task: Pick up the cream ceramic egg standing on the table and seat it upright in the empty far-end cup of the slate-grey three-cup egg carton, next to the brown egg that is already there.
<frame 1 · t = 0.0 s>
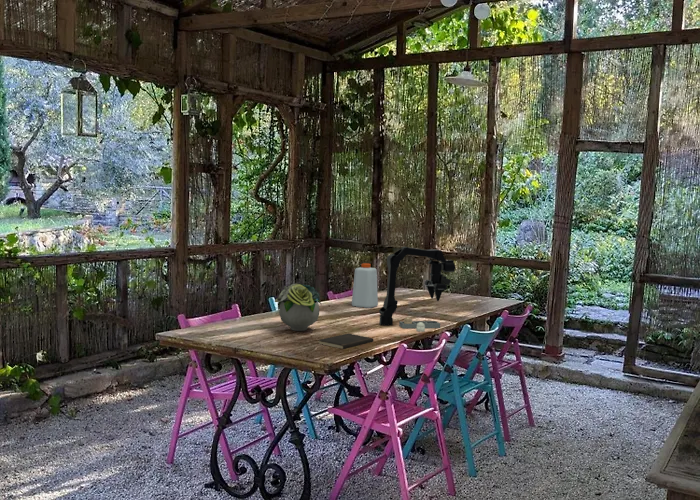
hand: (435, 299, 360), 15 cm above the table, fingers open, 9 cm apart
cream egg: (420, 332, 340), on the table
plastic bottle: (364, 306, 423), on the table
hardcover book: (345, 344, 311), on the table
flower arrangement: (298, 330, 339), on the table
egg carton: (419, 328, 351), on the table
brown egg: (407, 327, 349), point 1 cm above the table, touching egg carton
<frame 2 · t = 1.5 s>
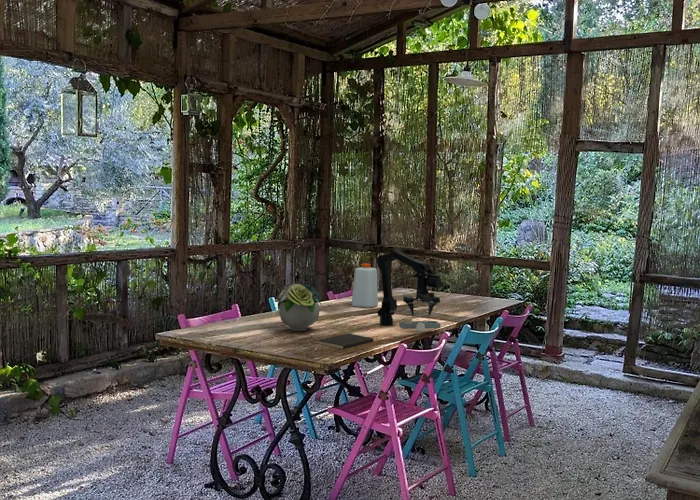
hand: (420, 315, 340), 9 cm above the table, fingers open, 9 cm apart
nothing on the table moved.
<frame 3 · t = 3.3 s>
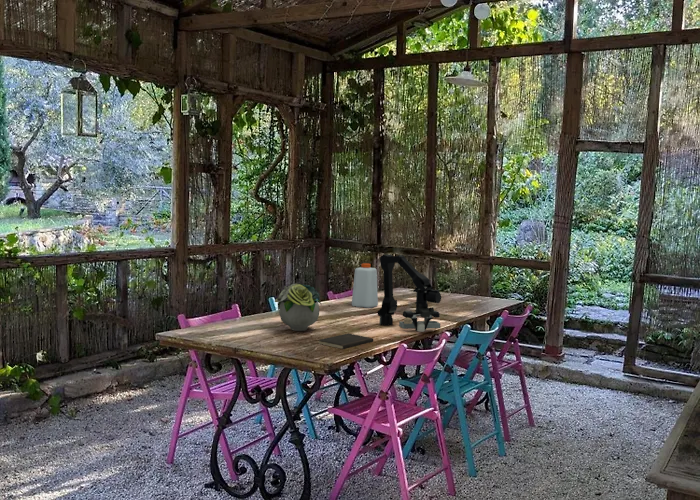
hand: (420, 330, 340), 1 cm above the table, fingers closed on cream egg, 4 cm apart
cream egg: (420, 332, 340), on the table, touching gripper
everything else where it was.
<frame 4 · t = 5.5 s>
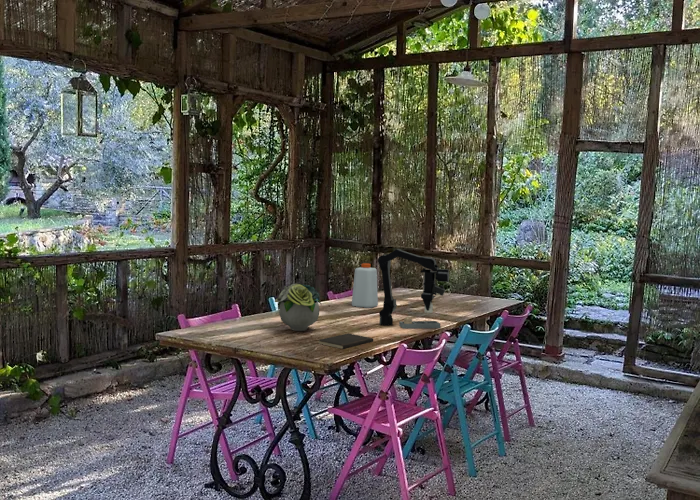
hand: (428, 309, 347), 11 cm above the table, fingers closed on cream egg, 4 cm apart
cream egg: (428, 312, 347), point 10 cm above the table, touching gripper
everything else where it was.
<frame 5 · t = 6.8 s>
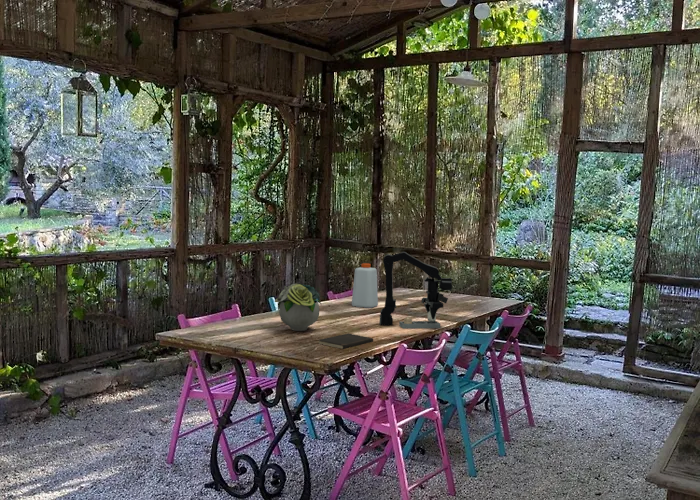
hand: (431, 318, 352), 6 cm above the table, fingers closed on cream egg, 4 cm apart
cream egg: (431, 320, 352), point 5 cm above the table, touching gripper
everything else where it was.
when the fingers open (4 cm above the table, at t = 7.8 s): cream egg drops 2 cm, resting on egg carton.
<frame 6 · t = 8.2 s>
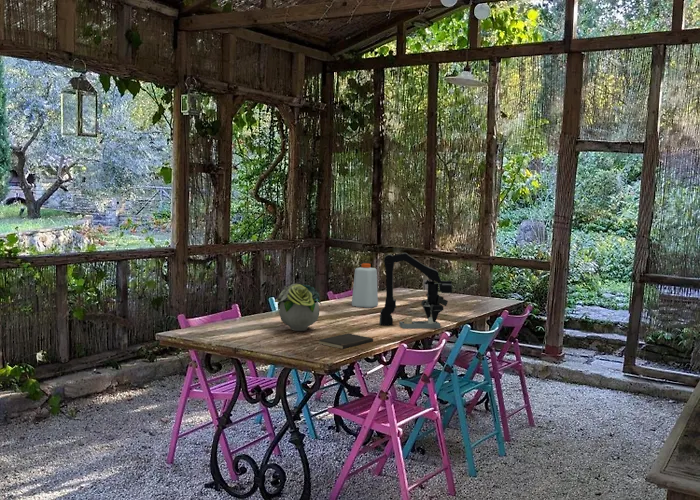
hand: (431, 320, 352), 4 cm above the table, fingers open, 8 cm apart
cream egg: (431, 326, 352), point 1 cm above the table, touching egg carton
everything else where it was.
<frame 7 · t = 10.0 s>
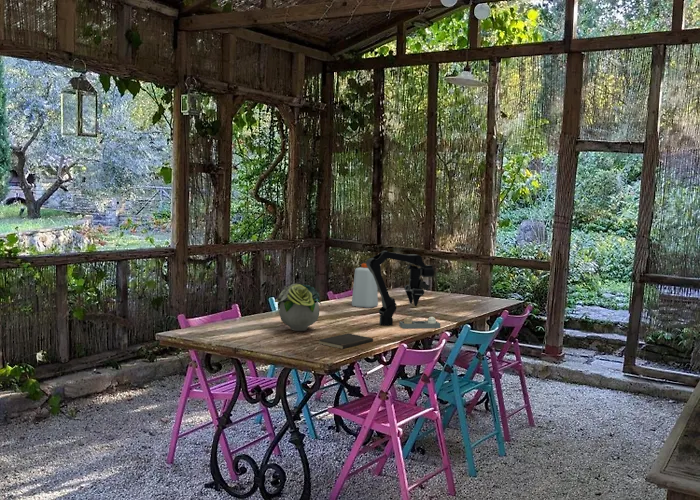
hand: (413, 304, 359), 12 cm above the table, fingers open, 9 cm apart
nothing on the table moved.
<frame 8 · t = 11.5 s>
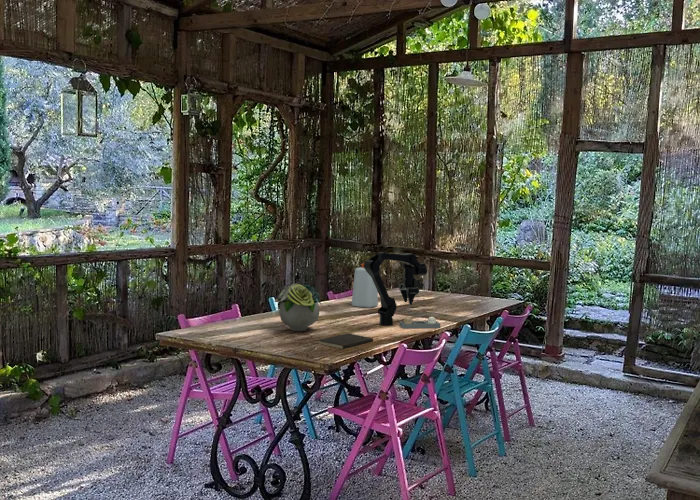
hand: (408, 303, 361), 12 cm above the table, fingers open, 9 cm apart
nothing on the table moved.
at the end: cream egg 0.0 cm from the target spot on the egg carton, point 1.0 cm above the egg carton's base; cream egg tilted 0°; the gripper is holding nothing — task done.
